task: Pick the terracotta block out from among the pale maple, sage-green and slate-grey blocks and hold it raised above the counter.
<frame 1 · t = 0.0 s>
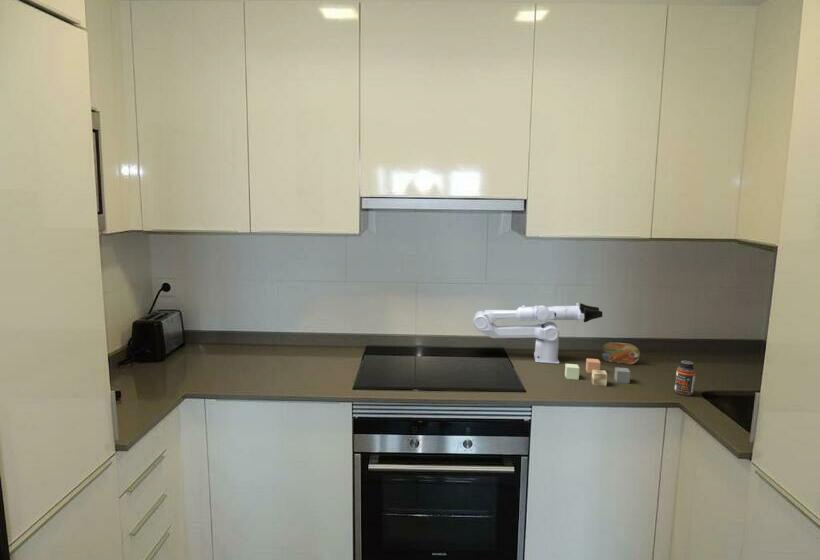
hand: (600, 312, 213), 22 cm above the worktop, tool horizontal, fingers open, 7 cm apart
maple block: (598, 383, 193), on the worktop
supplement bottle: (683, 393, 186), on the worktop
tin: (619, 363, 220), on the worktop
slate block: (621, 381, 197), on the worktop
sage block: (571, 377, 200), on the worktop
terracotta block: (592, 371, 207), on the worktop
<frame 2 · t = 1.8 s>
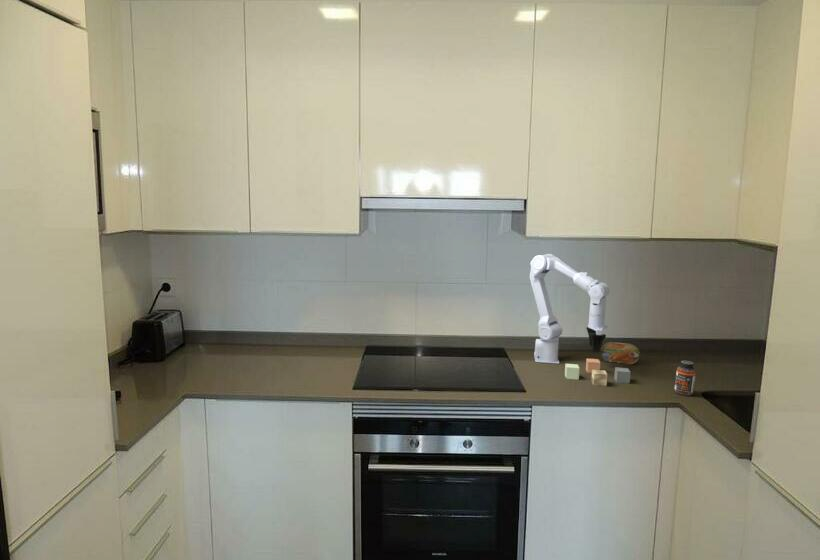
hand: (594, 348, 206), 9 cm above the worktop, tool pointing down, fingers open, 7 cm apart
nothing on the worktop moved.
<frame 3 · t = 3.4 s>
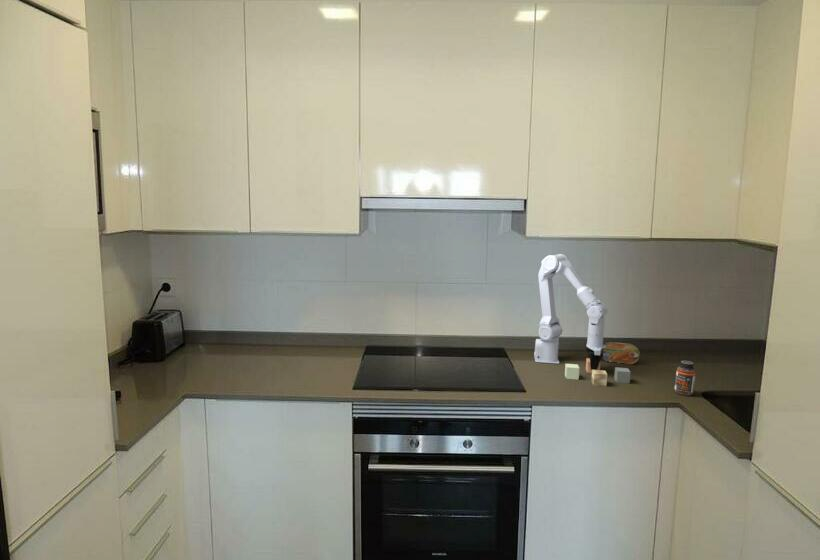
hand: (592, 367, 207), 1 cm above the worktop, tool pointing down, fingers closed on terracotta block, 4 cm apart
terracotta block: (592, 371, 207), on the worktop, touching gripper
everything else where it was.
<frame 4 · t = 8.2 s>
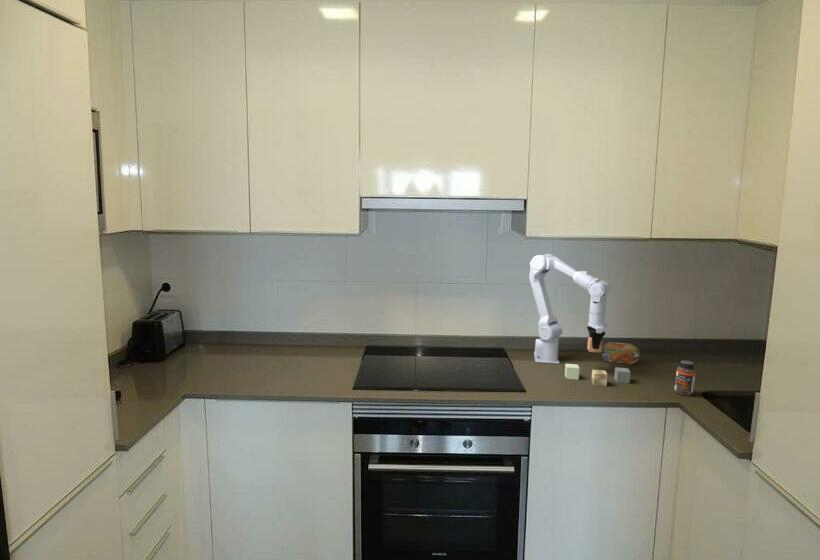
hand: (594, 346, 206), 10 cm above the worktop, tool pointing down, fingers closed on terracotta block, 4 cm apart
terracotta block: (594, 350, 206), point 8 cm above the worktop, touching gripper
everything else where it was.
at the end: the gripper is holding terracotta block; terracotta block point 8.5 cm above the worktop; maple block moved 0.1 cm from its start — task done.
